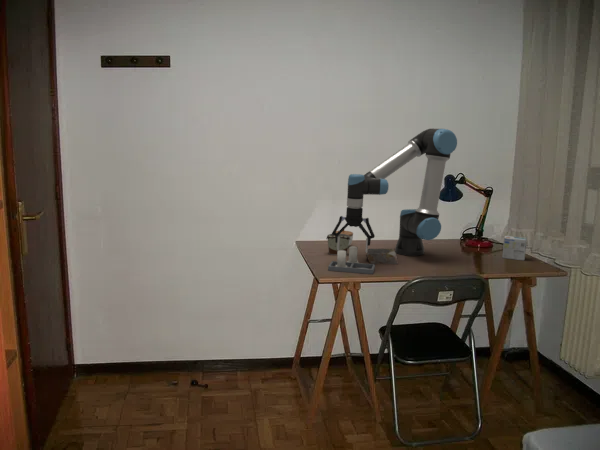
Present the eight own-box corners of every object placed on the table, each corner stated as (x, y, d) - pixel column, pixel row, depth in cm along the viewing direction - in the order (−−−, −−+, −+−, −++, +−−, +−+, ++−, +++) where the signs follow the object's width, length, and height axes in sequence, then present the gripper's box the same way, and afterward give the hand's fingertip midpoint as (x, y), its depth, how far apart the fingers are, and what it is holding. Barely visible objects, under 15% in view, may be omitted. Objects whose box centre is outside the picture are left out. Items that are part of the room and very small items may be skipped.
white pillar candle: (359, 262, 247) (360, 246, 245) (357, 265, 241) (358, 249, 240) (347, 261, 248) (348, 245, 246) (346, 264, 243) (346, 248, 241)
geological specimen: (365, 248, 255) (395, 247, 254) (365, 260, 256) (395, 259, 255) (367, 252, 244) (398, 252, 243) (367, 265, 245) (398, 264, 244)
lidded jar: (353, 248, 273) (354, 231, 271) (333, 248, 273) (334, 231, 271) (351, 244, 284) (352, 227, 282) (332, 243, 284) (333, 227, 282)
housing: (374, 268, 237) (375, 251, 235) (372, 274, 227) (373, 256, 226) (331, 264, 241) (332, 248, 240) (328, 270, 232) (328, 252, 230)
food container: (349, 252, 266) (350, 233, 264) (349, 255, 259) (350, 236, 258) (326, 251, 267) (326, 232, 265) (325, 254, 261) (326, 235, 259)
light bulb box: (524, 257, 260) (527, 237, 258) (524, 260, 254) (526, 240, 252) (502, 255, 264) (504, 235, 262) (501, 258, 258) (503, 237, 256)
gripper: (381, 207, 240) (379, 251, 244) (330, 204, 246) (328, 246, 250) (380, 210, 233) (377, 254, 237) (327, 206, 238) (325, 250, 242)
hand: (352, 250), depth 243 cm, fingers open, 13 cm apart
